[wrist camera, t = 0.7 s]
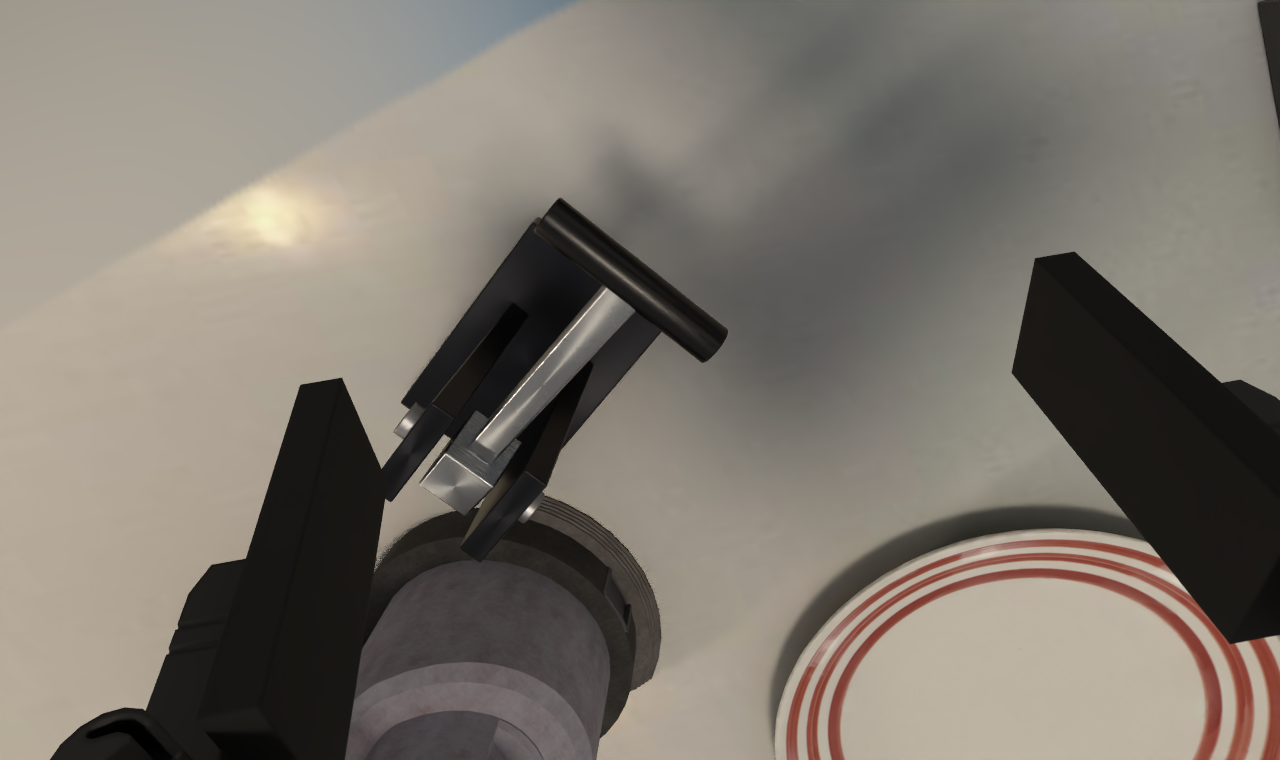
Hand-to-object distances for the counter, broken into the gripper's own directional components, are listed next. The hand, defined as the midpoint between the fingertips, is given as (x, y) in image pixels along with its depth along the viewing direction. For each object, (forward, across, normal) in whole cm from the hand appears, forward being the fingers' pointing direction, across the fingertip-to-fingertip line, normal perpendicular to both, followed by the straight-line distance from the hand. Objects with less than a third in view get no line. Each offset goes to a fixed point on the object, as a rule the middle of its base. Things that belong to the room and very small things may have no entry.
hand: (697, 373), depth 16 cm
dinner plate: (+11, +18, -37) cm, 43 cm away
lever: (+10, -4, -7) cm, 13 cm away
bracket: (+22, -5, -15) cm, 28 cm away
